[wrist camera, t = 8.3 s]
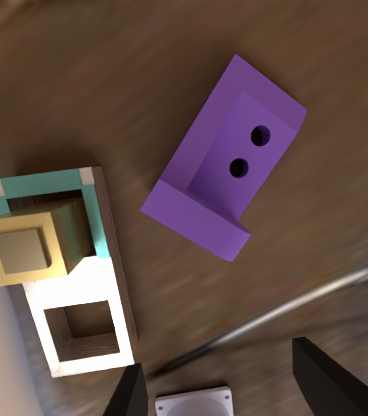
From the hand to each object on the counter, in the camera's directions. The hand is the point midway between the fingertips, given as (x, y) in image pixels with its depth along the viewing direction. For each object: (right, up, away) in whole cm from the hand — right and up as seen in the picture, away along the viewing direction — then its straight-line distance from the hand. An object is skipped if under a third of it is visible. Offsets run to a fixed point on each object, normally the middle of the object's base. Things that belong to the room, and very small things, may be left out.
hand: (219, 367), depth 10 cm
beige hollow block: (-11, +6, +8) cm, 15 cm away
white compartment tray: (-11, +2, +9) cm, 14 cm away
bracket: (+2, +12, +8) cm, 15 cm away
